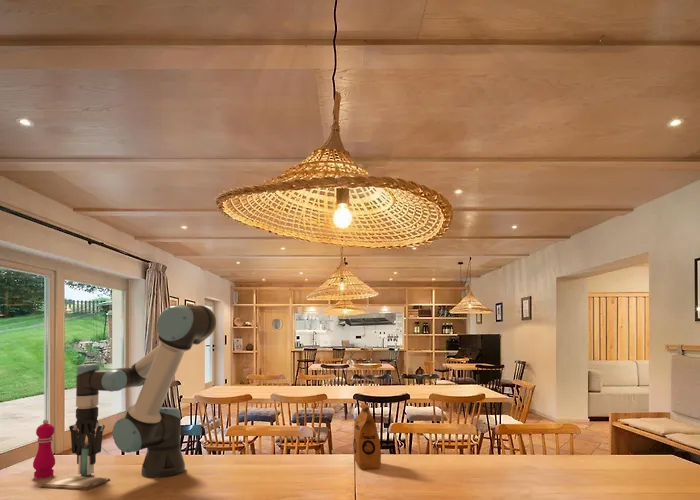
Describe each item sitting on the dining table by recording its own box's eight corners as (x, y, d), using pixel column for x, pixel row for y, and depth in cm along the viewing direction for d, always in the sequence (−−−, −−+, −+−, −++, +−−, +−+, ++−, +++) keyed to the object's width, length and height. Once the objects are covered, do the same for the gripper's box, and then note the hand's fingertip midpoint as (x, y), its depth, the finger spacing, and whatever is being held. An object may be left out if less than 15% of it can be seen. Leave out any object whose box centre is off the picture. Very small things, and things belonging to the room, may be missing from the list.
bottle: (93, 474, 215) (93, 443, 216) (87, 476, 212) (87, 445, 213) (85, 474, 216) (85, 443, 217) (78, 476, 213) (79, 444, 214)
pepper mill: (45, 479, 210) (47, 421, 212) (27, 478, 212) (29, 421, 214) (59, 473, 217) (61, 417, 219) (42, 473, 219) (44, 417, 221)
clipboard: (110, 480, 207) (111, 476, 207) (88, 490, 195) (88, 486, 195) (65, 477, 211) (65, 474, 211) (40, 487, 200) (40, 483, 200)
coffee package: (355, 470, 213) (354, 408, 215) (352, 462, 225) (351, 403, 227) (383, 469, 214) (381, 407, 216) (378, 461, 226) (377, 402, 228)
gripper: (112, 405, 218) (112, 471, 216) (75, 405, 222) (74, 470, 219) (99, 408, 211) (98, 476, 208) (61, 408, 215) (59, 475, 212)
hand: (86, 473), depth 214 cm, fingers closed on bottle, 3 cm apart
